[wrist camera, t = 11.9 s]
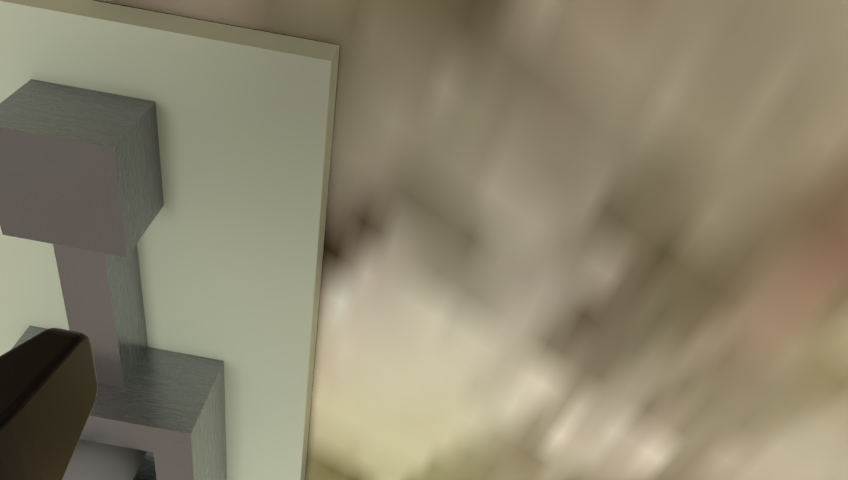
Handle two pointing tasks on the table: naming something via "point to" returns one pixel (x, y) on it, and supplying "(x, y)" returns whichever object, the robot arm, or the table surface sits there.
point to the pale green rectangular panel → (200, 208)
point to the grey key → (109, 268)
